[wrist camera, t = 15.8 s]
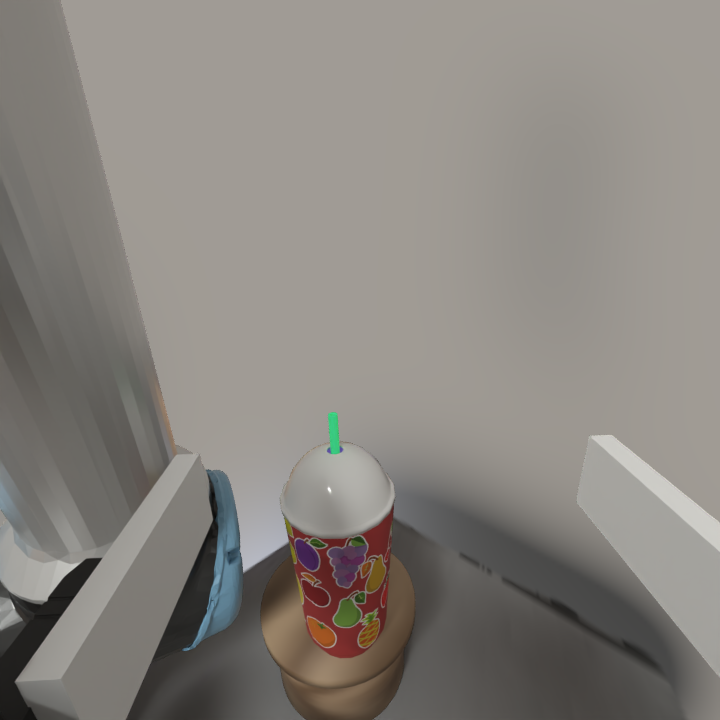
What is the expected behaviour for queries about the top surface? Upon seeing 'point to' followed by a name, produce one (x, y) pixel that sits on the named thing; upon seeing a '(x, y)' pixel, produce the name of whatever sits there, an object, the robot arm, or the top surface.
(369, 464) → the smoothie
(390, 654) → the tan muffin-shaped cylinder
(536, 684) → the top surface
